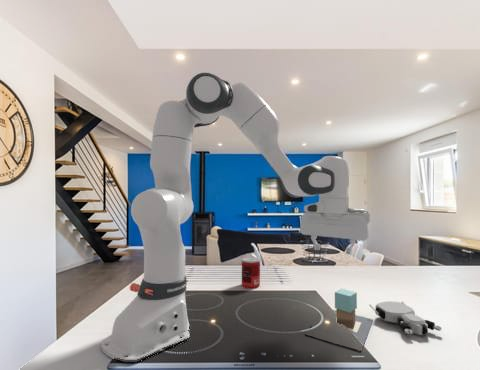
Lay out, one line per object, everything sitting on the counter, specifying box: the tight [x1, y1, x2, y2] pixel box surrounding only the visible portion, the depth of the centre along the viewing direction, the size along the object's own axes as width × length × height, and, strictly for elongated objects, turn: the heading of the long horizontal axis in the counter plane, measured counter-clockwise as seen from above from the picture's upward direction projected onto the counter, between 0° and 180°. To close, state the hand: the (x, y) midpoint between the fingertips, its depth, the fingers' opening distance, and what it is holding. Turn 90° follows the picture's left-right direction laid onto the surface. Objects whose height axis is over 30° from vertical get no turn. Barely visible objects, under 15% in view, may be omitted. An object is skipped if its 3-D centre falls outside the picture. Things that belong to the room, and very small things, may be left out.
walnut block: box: [335, 308, 356, 329], centre depth 77 cm, size 4×4×4 cm
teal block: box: [334, 288, 358, 313], centre depth 77 cm, size 4×4×4 cm
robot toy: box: [368, 301, 442, 336], centre depth 77 cm, size 12×4×15 cm
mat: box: [332, 309, 374, 346], centre depth 75 cm, size 20×14×1 cm
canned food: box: [241, 256, 261, 290], centre depth 111 cm, size 8×8×11 cm
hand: (332, 251), depth 83 cm, fingers open, 8 cm apart
